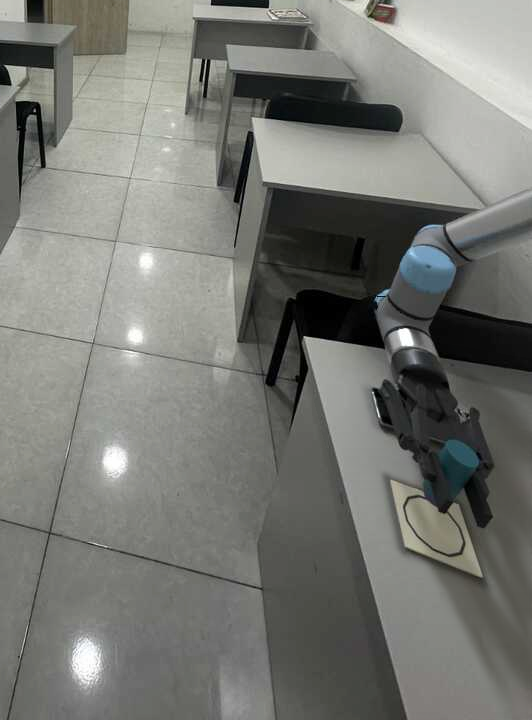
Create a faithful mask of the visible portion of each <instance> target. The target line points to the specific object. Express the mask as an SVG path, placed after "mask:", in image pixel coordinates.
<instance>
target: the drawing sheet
mask: <svg viewBox="0 0 532 720" xmlns="http://www.w3.org/2000/svg"><path fill="white" fill-rule="evenodd" d="M389 482H390V487H391V491H392V496H393V500H394V505H395V509H396V513H397V518H398V522H399V527H400V532H401V536H402V540H403V546H404V548H405V549H407V550H410V551H412V552H415V553H418V554H420V555H423V556H425V557H428V558H430V559H433V560H435V561H438V562H441V563H443V564H446V565H447V566H451V567H453V568H456V569H457V570H460V571H463V572H466V573H468V574H470V575H473V576H475V577H479V578H480V579H483V578H484V576H483V573H482V570H481V567H480V564H479V561H478V558H477V554H476V552H475V549H474V545H473V543H472V540H471V536H470V533H469V531H468V527H467V525H466V524H467V523H466V522H465V519H464V516H463V513H462V509H461V507H460V504H459V503H456V502H453V504H452V505H451V506H450V508H449V509H448V511H447V512H446V514H443V513H440V512H438V508H437V507H436V506H434V505H432V504H431V503H430V502H429V501H428V500H427V499H426V497H425V496H424V493H423V490H420V489H418V488H415V487H412V486H410V485H406V484H404V483H401V482H398V481H395V480H393V479H390V480H389Z"/></svg>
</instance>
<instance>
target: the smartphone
mask: <svg viewBox="0 0 532 720" xmlns="http://www.w3.org/2000/svg"><path fill="white" fill-rule="evenodd" d="M370 394H371V398H372V402H373V406H374V410H375V413H376V417H377V421H378V423H379V424H380V425H381V426H384V427H386V428H390V429H392V430H394V427H393V424H392V421H391V418H390V415H389V411H388V408H387V405H386V402H385V401H384V399H383V398H382V396H381V395H380V393H379V388H377V387H373V386H372V387H371V388H370ZM400 398H401V397H400ZM401 401H402V404H403V406H404V409H405V412H406V415H407V418H408V421H409V424H410V427H411V429H412V419H411V418H410V407H409V405H408V404H407V403H406V402H405V401H404V400H403V399H402V398H401ZM454 413H455V415H456V421H457V423H458V425H459V426H460V428H461V430H462V432H463V433H464V430H463V423H461V422H460V421H459V420H460V418H459V415H458V414H457V413H456V412H455V411H454ZM427 422H428V432H429V441H433V442H436V443H440V444H443V445H446V443H447V439H446V437H445V435H444V433H443V431H442V430H441V429H439V428H438V427H437V425H436V423H435V421H434V420H433V419H431V418H429V417H427ZM464 435H465V433H464ZM465 437H466V436H465Z"/></svg>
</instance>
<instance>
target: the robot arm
mask: <svg viewBox="0 0 532 720" xmlns="http://www.w3.org/2000/svg"><path fill="white" fill-rule="evenodd" d="M529 241H532V186H531V187H529V188H526V189H523V190H522V191H520V192H517V193H515V194H512V195H510V196H507V197H506V198H503V199H500V200H499V201H496V202H494V203H491V204H490V205H487V206H484V207H482V208H480V209H477V210H475V211H473V212H471V213H468V214H466V215H463V216H462V217H459V218H457V219H454V220H452V221H449V222H447V223H445V224H428V225H426V226H424V227H422V228H421V229H420V230H419V231H418V232H417V233H416V235H415V236H414V237H413V239H412V242H411V244H410V247H409V249H407V251H406V252H405V254H404V255H403V257H402V259H401V261H400V262H399V267H398V269H397V272H396V274H395V276H394V279H393V281H392V283H391V286H390V288H389V289H385V290H383V291H382V292H381V293H379V294H377V295H376V297H375V298H374V302H375V301H376V302H377V305H378V308H377V310H375V309H374V314H375V319H376V322H377V325H378V328H379V332H380V335H381V338H382V341H383V344H384V348H385V349H384V350H385V351H386V356H387V360H388V363H389V365H390V371H391V374H392V379H393V382H391V381H390V380H389V379H387V378H385V379H383V380H382V382H381V384H380V387H379V388H378V389H379V393H380V395H381V396H382V398H383V399H384V401H385V402H386V405H387V408H388V411H389V415H390V418H391V421H392V424H393V427H394V429H393V431H394V434H395V436H396V440H397V443H398V446H399V447H400V449H402V450H403V451H406V452H407V451H409V452H411V453H413V454H412V456H411V459H413V461H414V462H415V463H417V464H418V467H419V470H420V473H421V477H422V478H423V480H424V479H425V480H428V481H430V484H431V488H432V491H433V495H434V498H435V502H436V505H437V508H438V512H440V513H443V514H446V512H447V511H448V509H449V508H450V506H451V505H452V503H454V502H453V499H452V496H451V493H450V490H449V487H448V484H447V481H446V478H445V475H444V471H443V468H442V465H441V462H440V460H439V453H438V452H437V451H433V450H430V449H431V443H430V442H431V441H430V440H429V432H428V422H427V417H429V418H431V419H433V420H434V421H435V423H436V425H437V427H438V428H439V429H441V430H442V431H443V433H444V435H445V437H446V439H447V441H449V440H458V441H460V442H462V443H464V444H466V445H467V446H468V447H470V448H471V449H472V450H473V451H474V452H475V454H476V455H477V457H478V459H479V465H478V467H477V468H476V470H475V471H474V473H473V474H472V476H471V477H470V479H469V480H468V482H467V483H466V485H465V486H464V488H463V490H464V493H465V496H466V499H467V501H468V504H469V507H470V510H471V513H472V516H473V519H474V522H475V524H476V527H477V528H480V529H483V530H485V529H486V527H487V526H488V525H489V524H490V522H491V520H492V519H493V518H494V515H493V512H492V510H491V507H490V505H489V502H488V499H487V498H488V497H489V496H490V490H489V488H488V485H487V482H486V479H488V477H489V476H490V475H491V473H492V472H493V471H494V469H495V467H496V465H495V463H494V460H493V457H492V455H491V451H490V449H489V446H488V443H487V440H486V437H485V434H484V431H483V429H482V425H481V423H480V417H481V412H480V410H479V409H478V408H476V407H474V406H471V407H470V408H467V407H466V406H464V405H462V404H460V403H459V401H458V399H457V397H456V396H454V394H453V393H452V392H451V388H450V387H451V386H450V382H449V380H448V377H447V374H446V371H445V369H444V367H443V365H442V360H441V359H440V356H439V353H438V351H437V349H436V346H435V343H434V342H433V339H432V337H431V334H430V329H429V328H430V326H431V324H432V322H433V320H434V318H435V316H436V314H437V310H438V309H439V308H440V306H441V304H442V302H443V300H444V298H445V297H446V296H447V295H446V294H447V292H448V291H449V290H450V289H451V287H452V285H453V282H454V279H455V276H456V273H457V268H458V267H461V266H463V265H466V264H469V263H472V262H475V261H476V260H479V259H482V258H484V257H487V256H490V255H493V254H496V253H499V252H501V251H502V252H503V251H505V250H508V249H510V248H513V247H515V246H518V245H522V244H525V243H527V242H529ZM377 296H386V297H377ZM388 300H389V301H388ZM389 302H390V303H389ZM396 309H397V310H398V311H397V310H396ZM400 312H401V313H400ZM412 318H413V319H412ZM415 319H416V320H415ZM400 397H401V398H402V399H403V400H404V401H405V402H406V403H407V404H408V405H409V407H410V418H411V419H412V429H411V427H410V424H409V421H408V418H407V415H406V412H405V409H404V406H403V404H402V401H401V398H400ZM454 411H455V412H456V413H457V414H458V415H459V418H460V420H459V421H460V422H461V423H463V430H464V433H465V435H464V433H463V432H462V430H461V428H460V426H459V425H458V423H457V421H456V415H455V413H454ZM465 436H466V437H465Z"/></svg>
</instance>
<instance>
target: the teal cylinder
mask: <svg viewBox="0 0 532 720" xmlns="http://www.w3.org/2000/svg"><path fill="white" fill-rule="evenodd" d="M438 456H439V460H440V462H441V465H442V468H443V471H444V475H445V478H446V481H447V484H448V487H449V490H450V493H451V496H452V499H453V503H455V501H456V499H457V498H458V496H459V495H460V493H461V492H462V491H463V490H464V486H465V485H466V483H467V482H468V480H469V479H470V477H471V476H472V474H473V473H474V471H475V470H476V468H477V467H478V465H479V459H478V457H477V455H476V454H475V452H474V451H473V450H472V449H471V448H470V447H468V446H467V445H466V444H464V443H462V442H460V441H458V440H449V441H447V443H446V444H444V446H443V448H442V450H441V451H440V453H438ZM422 487H423V488H422V491H423V493H424V496H425V497H426V499H427V500H428V501H429V502H430V503H431V504H432V505H434V506H436V507H437V505H436V502H435V498H434V495H433V491H432V488H431V484H430V481H428V480H425V479H424V478H423V481H422ZM453 503H452V504H453Z"/></svg>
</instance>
